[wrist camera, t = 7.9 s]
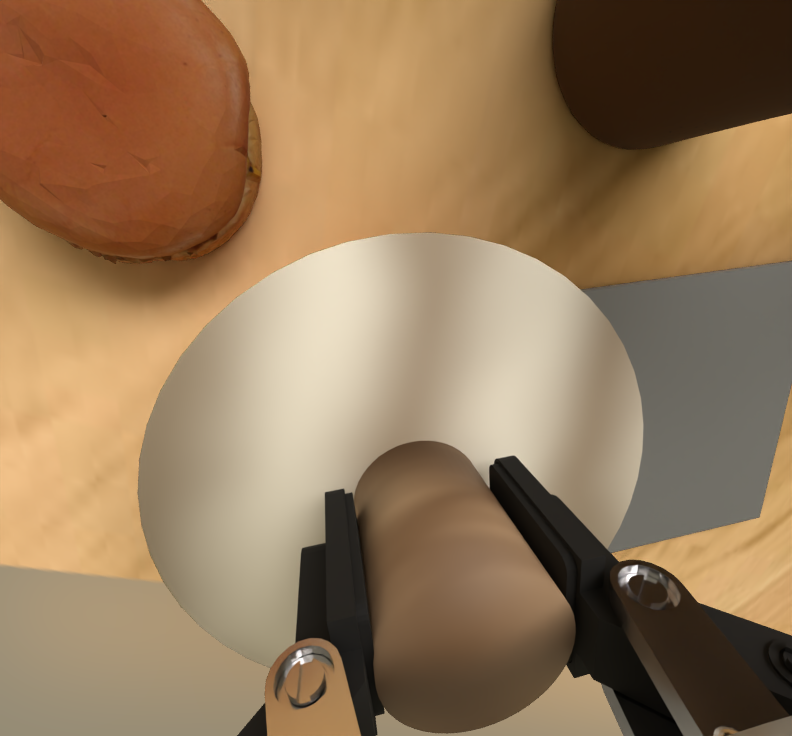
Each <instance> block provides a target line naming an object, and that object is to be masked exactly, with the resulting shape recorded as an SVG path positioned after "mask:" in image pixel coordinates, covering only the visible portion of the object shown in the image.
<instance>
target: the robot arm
mask: <svg viewBox="0 0 792 736" xmlns="http://www.w3.org/2000/svg"><path fill="white" fill-rule="evenodd" d="M489 484H490V490H491V491H492V493H493V494H494V496H495V497H496V499H497V500H498V502H499V503H500V504H501V506H502V507H503V509H504V510H505V512H506V513H507V515H508V516H509V518H510V519H511V520H512V522H513V523H514V525H515V526H516V528H517V529H518V531H519V532H520V533H521V535H522V536H523V538H524V539H525V541H526V542H527V544H528V545H529V547H530V548H531V549H532V551H533V552H534V554H535V555H536V557H537V558H538V560H539V561H540V562H541V564H542V565H543V567H544V568H545V570H546V571H547V573H548V574H549V576H550V577H551V578H552V580H553V581H554V583H555V584H556V586H557V587H558V589H559V590H560V591H561V593H562V594H563V596H564V597H565V599H566V600H567V602H568V603H569V605H570V607H571V609H572V612H573V614H574V619H575V623H576V635H575V642H574V646H573V649H572V653H571V655H570V657H569V660H568V662H567V664H566V665H567V667H568V668H569V670H570V672H571V674H572V675H573V677H574V678H577V677H580V676H583V675H587V674H590V675H591V677H592V678H593V679H594V680H596V681H598V682H600V683H601V685H602V688H603V691H604V693H605V696H606V698H607V700H608V702H609V705H610V707H611V709H612V711H613V713H614V715H615V718H616V720H617V722H618V725H619V727H620V729H621V731H622V733H623V735H624V736H792V636H791V635H788V634H785V633H783V632H780V631H777V630H774V629H771V628H768V627H766V626H763V625H760V624H757V623H754V622H751V621H749V620H746V619H743V618H740V617H737V616H734V615H732V614H729V613H726V612H723V611H720V610H717V609H715V608H712V607H709V606H706V605H703V604H700V603H698V602H697V601H696V600H695V599H694V597H693V596H692V595H691V594H690V593H689V591H688V590H687V589H686V588H685V586H684V585H683V584H682V583H681V582H680V581H679V580H678V579H677V578H676V577H675V576H674V575H672V574H671V573H669V572H668V571H666V570H665V569H663V568H661V567H659V566H657V565H654V564H652V563H649V562H645V561H641V560H626V561H621V562H619V561H618V560H617V559H616V558H615V557H614V556H613V555H612V554H611V553H610V552H609V551H608V550H607V549H606V548H605V546H604V545H603V544H602V543H601V542H600V541H599V540H598V539H597V538H596V537H595V536H594V535H593V534H592V533H591V531H590V530H589V529H588V528H587V527H586V526H585V525H584V524H583V523H582V522H581V521H580V520H579V519H578V518H577V517H576V515H575V514H574V513H573V512H572V511H571V510H570V509H569V508H568V507H567V506H566V505H565V504H564V503H563V502H562V500H561V499H560V498H558V497H557V496H556V495H553V494H550V493H549V492H548V491H547V490H546V489H545V488H544V487H543V486H542V484H541V483H540V482H539V481H538V480H537V479H536V478H535V477H534V476H533V475H532V474H531V472H530V471H529V470H528V469H527V468H526V467H525V466H524V465H523V464H522V463H521V461H520V460H519V459H518V458H517V457H516V456H507V457H502V458H497V459H495V461H494V464H493V465H490V466H489ZM373 660H374V647H373V639H372V631H371V624H370V616H369V609H368V601H367V593H366V586H365V578H364V570H363V563H362V555H361V547H360V540H359V532H358V525H357V517H356V511H355V505H354V499H353V493H352V492H351V493H346V494H345V490H344V489H339V490H334V491H329V492H325V543H322V544H318V545H313V546H308V547H304V548H302V550H301V560H300V576H299V591H298V607H297V623H296V638H295V644H293V645H292V646H290V647H288V648H287V649H286V650H285V651H284V652H283V653H282V654H281V655H279V656H278V658H277V659H276V661H275V662H274V664H273V665H272V667H271V668H270V671H269V674H268V676H267V679H266V685H265V704H264V705H263V706H262V707H261V708H260V709H259V711H258V712H257V713H256V714H255V715H254V716H253V718H252V719H251V720H250V721H249V722H248V724H247V725H246V726H245V727H244V728H243V729H242V731H241V732H240V733H239V734H238V735H237V736H376V735H377V727H376V718H375V716H377V715H380V714H384V706H383V705H382V703H381V701H380V699H379V697H378V693H377V690H376V685H375V677H374V667H373Z"/></svg>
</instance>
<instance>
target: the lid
mask: <svg viewBox="0 0 792 736" xmlns="http://www.w3.org/2000/svg"><path fill="white" fill-rule="evenodd" d="M642 448H643V415H642V404H641V396H640V392H639V388H638V384H637V380H636V376H635V372H634V369H633V367H632V364H631V362H630V359H629V357H628V355H627V352H626V350H625V347H624V345H623V343H622V342H621V340H620V338H619V337H618V335H617V333H616V332H615V330H614V328H613V327H612V325H611V323H610V322H609V320H608V319H607V318H606V317H605V315H604V314H603V313H602V312H601V311H600V310H599V308H598V307H597V306H596V305H595V304H594V302H593V301H592V300H591V299H590V298H589V297H588V296H587V295H586V294H585V293H584V292H582V291H581V290H580V289H579V288H578V287H577V286H575V285H574V284H573V283H572V282H571V281H570V280H568V279H567V278H566V277H565V276H563V275H562V274H560V273H559V272H557V271H555V270H554V269H552V268H550V267H549V266H547V265H546V264H544V263H542V262H541V261H539V260H537V259H535V258H533V257H531V256H528V255H526V254H524V253H521V252H519V251H516V250H514V249H512V248H509V247H507V246H505V245H501V244H497V243H493V242H489V241H485V240H481V239H477V238H473V237H469V236H460V235H450V234H440V233H406V234H388V235H381V236H376V237H370V238H365V239H360V240H354V241H349V242H345V243H342V244H339V245H336V246H333V247H330V248H327V249H324V250H321V251H318V252H315V253H312V254H309V255H307V256H305V257H303V258H301V259H299V260H297V261H295V262H293V263H291V264H289V265H287V266H285V267H283V268H281V269H279V270H277V271H275V272H273V273H272V274H270V275H269V276H267V277H266V278H264V279H263V280H261V281H260V282H258V283H257V284H256V285H254V286H253V287H251V288H250V289H248V290H247V291H245V292H244V293H242V294H241V295H239V296H238V297H236V298H235V299H234V300H233V301H232V302H231V303H230V304H229V305H228V306H227V307H226V308H224V309H223V310H222V311H221V312H220V313H219V314H218V315H217V316H216V317H215V318H213V319H212V320H211V321H210V322H209V323H208V324H207V325H206V326H205V327H204V328H203V330H202V331H201V332H200V333H199V334H198V336H197V337H196V338H195V339H194V341H193V342H192V343H191V344H190V346H189V347H188V348H187V349H186V350H185V352H184V353H183V354H182V355H181V357H180V358H179V360H178V362H177V363H176V365H175V367H174V368H173V370H172V372H171V373H170V375H169V377H168V378H167V380H166V382H165V384H164V385H163V387H162V389H161V390H160V393H159V395H158V398H157V400H156V403H155V406H154V408H153V411H152V413H151V416H150V418H149V421H148V423H147V427H146V431H145V436H144V440H143V445H142V449H141V454H140V458H139V476H138V500H139V508H140V517H141V525H142V528H143V532H144V535H145V539H146V542H147V545H148V549H149V552H150V555H151V557H152V559H153V561H154V564H155V566H156V568H157V570H158V572H159V574H160V576H161V578H162V580H163V582H164V583H165V585H166V586H167V587H168V589H169V591H170V592H171V593H172V595H173V596H174V597H175V599H176V600H177V602H178V603H179V605H180V606H181V607H182V608H183V609H184V610H185V611H186V612H187V613H188V614H189V615H190V617H192V619H193V620H194V621H195V622H196V623H197V624H198V625H199V626H200V627H201V628H203V629H204V630H205V631H207V632H208V633H209V634H210V635H212V636H213V637H214V638H216V639H217V640H218V641H219V642H221V643H222V644H223V645H225V646H227V647H229V648H230V649H232V650H234V651H236V652H237V653H239V654H241V655H242V656H244V657H246V658H247V659H250V660H252V661H255V662H257V663H259V664H262V665H264V666H267V667H269V668H271V667H272V665H273V664H274V662H275V661H276V659H277V658H278V656H279V655H281V654H282V653H283V652H284V651H285V650H286V649H287V648H288V647H290V646H292V645H293V644H295V638H296V623H297V607H298V591H299V576H300V560H301V550H302V548H304V547H308V546H313V545H318V544H322V543H325V492H329V491H334V490H339V489H344V490H345V494H346V493H351V492H352V493H353V499H354V505H355V511H356V517H357V525H358V532H359V540H360V547H361V555H362V563H363V570H364V578H365V586H366V593H367V601H368V609H369V616H370V624H371V631H372V639H373V647H374V660H373V667H374V677H375V685H376V690H377V693H378V697H379V699H380V701H381V703H382V705H383V706H384V708H385V709H386V710H387V711H388V713H389V714H390V715H392V716H393V717H394V718H395V719H396V720H398V721H399V722H401V723H403V724H404V725H407V726H409V727H412V728H414V729H417V730H421V731H425V732H432V733H458V732H465V731H471V730H475V729H479V728H483V727H486V726H489V725H492V724H495V723H497V722H499V721H502V720H504V719H506V718H508V717H510V716H512V715H514V714H516V713H517V712H519V711H521V710H522V709H524V708H525V707H527V706H528V705H530V704H531V703H532V702H533V701H535V700H536V699H537V698H539V696H541V695H542V694H543V693H544V692H545V691H546V690H547V689H548V688H549V687H550V686H551V685H552V684H553V683H554V681H555V680H556V679H557V677H558V676H559V675H560V673H561V672H562V670H563V669H564V667H565V665H566V664H567V662H568V660H569V657H570V655H571V653H572V649H573V646H574V642H575V635H576V623H575V619H574V614H573V612H572V609H571V607H570V605H569V603H568V602H567V600H566V599H565V597H564V596H563V594H562V593H561V591H560V590H559V589H558V587H557V586H556V584H555V583H554V581H553V580H552V578H551V577H550V576H549V574H548V573H547V571H546V570H545V568H544V567H543V565H542V564H541V562H540V561H539V560H538V558H537V557H536V555H535V554H534V552H533V551H532V549H531V548H530V547H529V545H528V544H527V542H526V541H525V539H524V538H523V536H522V535H521V533H520V532H519V531H518V529H517V528H516V526H515V525H514V523H513V522H512V520H511V519H510V518H509V516H508V515H507V513H506V512H505V510H504V509H503V507H502V506H501V504H500V503H499V502H498V500H497V499H496V497H495V496H494V494H493V493H492V491H491V490H490V484H489V466H490V465H493V464H494V461H495V459H497V458H502V457H507V456H516V457H517V458H518V459H519V460H520V461H521V463H522V464H523V465H524V466H525V467H526V468H527V469H528V470H529V471H530V472H531V474H532V475H533V476H534V477H535V478H536V479H537V480H538V481H539V482H540V483H541V484H542V486H543V487H544V488H545V489H546V490H547V491H548V492H549V493H550V494H553V495H556V496H557V497H558V498H560V499H561V500H562V502H563V503H564V504H565V505H566V506H567V507H568V508H569V509H570V510H571V511H572V512H573V513H574V514H575V515H576V517H577V518H578V519H579V520H580V521H581V522H582V523H583V524H584V525H585V526H586V527H587V528H588V529H589V530H590V531H591V533H592V534H593V535H594V536H595V537H596V538H597V539H598V540H599V541H600V542H601V543H602V544H603V545H604V546H605V548H606V549H608V547H609V545H610V544H611V542H612V540H613V538H614V537H615V535H616V533H617V531H618V529H619V528H620V526H621V523H622V521H623V519H624V516H625V514H626V512H627V509H628V507H629V505H630V502H631V499H632V495H633V492H634V489H635V486H636V482H637V479H638V474H639V468H640V462H641V457H642Z"/></svg>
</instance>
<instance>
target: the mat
mask: <svg viewBox="0 0 792 736" xmlns="http://www.w3.org/2000/svg"><path fill="white" fill-rule="evenodd" d="M580 290H581V291H582V292H584V293H585V294H586V295H587V296H588V297H589V298H590V299H591V300H592V301H593V302H594V304H595V305H596V306H597V307H598V308H599V310H600V311H601V312H602V313H603V314H604V315H605V317H606V318H607V319H608V320H609V322H610V323H611V325H612V327H613V328H614V330H615V332H616V333H617V335H618V337H619V338H620V340H621V342H622V343H623V345H624V347H625V350H626V352H627V355H628V357H629V359H630V362H631V364H632V367H633V369H634V372H635V376H636V380H637V384H638V388H639V392H640V396H641V404H642V415H643V448H642V457H641V462H640V468H639V474H638V479H637V482H636V486H635V489H634V492H633V495H632V499H631V502H630V505H629V507H628V509H627V512H626V514H625V516H624V519H623V521H622V523H621V526H620V528H619V529H618V531H617V533H616V535H615V537H614V538H613V540H612V542H611V544H610V545H609V547H608V549H607V550H608V551H609V552H610V553H613V552H617V551H621V550H625V549H630V548H634V547H638V546H642V545H646V544H651V543H655V542H659V541H663V540H667V539H671V538H676V537H680V536H684V535H688V534H692V533H696V532H701V531H705V530H709V529H713V528H717V527H721V526H726V525H730V524H734V523H738V522H742V521H747V520H751V519H755V518H759V517H760V513H761V509H762V505H763V501H764V497H765V492H766V488H767V484H768V480H769V476H770V472H771V467H772V463H773V459H774V455H775V451H776V447H777V443H778V438H779V434H780V430H781V426H782V422H783V418H784V414H785V409H786V405H787V401H788V397H789V393H790V389H791V384H792V261H787V262H779V263H772V264H765V265H757V266H750V267H742V268H735V269H728V270H720V271H713V272H705V273H698V274H691V275H683V276H676V277H669V278H661V279H654V280H646V281H639V282H632V283H624V284H617V285H609V286H602V287H595V288H587V289H580Z"/></svg>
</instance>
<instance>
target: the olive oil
mask: <svg viewBox="0 0 792 736" xmlns="http://www.w3.org/2000/svg"><path fill="white" fill-rule="evenodd" d="M553 54H554V63H555V69H556V74H557V78H558V82H559V85H560V88H561V91H562V94H563V96H564V98H565V101H566V103H567V105H568V107H569V108H570V110H571V112H572V113H573V115H574V116H575V118H576V119H577V120H578V122H579V123H580V124H581V125H582V126H583V127H584V128H585V129H586V130H587V131H588V132H589V133H590V134H591V135H593V136H594V137H596V138H597V139H599V140H600V141H602V142H604V143H606V144H608V145H611V146H614V147H618V148H622V149H647V148H652V147H657V146H661V145H666V144H670V143H674V142H678V141H682V140H685V139H689V138H693V137H697V136H701V135H705V134H709V133H713V132H717V131H721V130H725V129H729V128H733V127H737V126H741V125H745V124H749V123H753V122H757V121H762V120H766V119H770V118H774V117H778V116H783V115H787V114H791V113H792V0H557V4H556V9H555V16H554V25H553Z"/></svg>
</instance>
